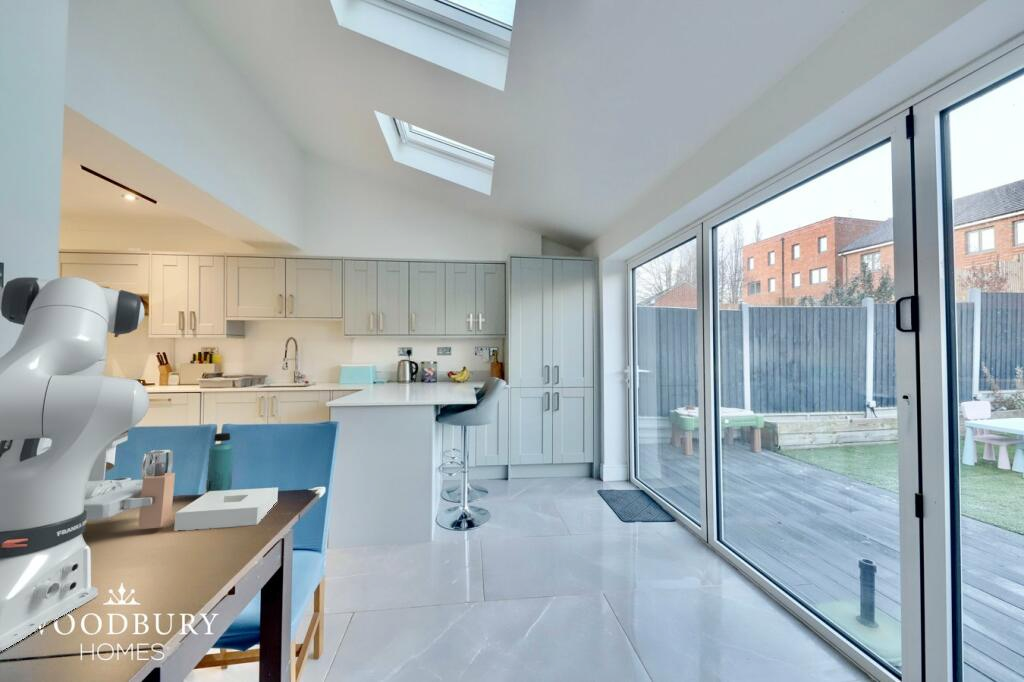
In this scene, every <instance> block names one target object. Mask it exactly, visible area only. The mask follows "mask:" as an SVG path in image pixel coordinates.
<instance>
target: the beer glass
mask: <svg viewBox="0 0 1024 682" xmlns="http://www.w3.org/2000/svg"><path fill="white" fill-rule="evenodd" d="M162 462H166V468H165V473H173V472H172V471H173V465H174V464H173V463H174V450H173V449H157V450H150V451H146V452H143V457H142V463H141V479H143V478H145V477H147V476H150V475H152V474H154V473H155V464H156V463H162Z"/></svg>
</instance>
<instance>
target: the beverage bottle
mask: <svg viewBox="0 0 1024 682" xmlns="http://www.w3.org/2000/svg"><path fill="white" fill-rule="evenodd" d="M230 440H231V433H229V432H220V433H216V434H214V438H213V441H214V442H222V443H215V444H213V445H212V446H210V448H208V449H209V450H208V451H209V452H208V461H207V462H208V463H207V473H206V474H207V475H206V476H207V477H206V484H205V487H206V488H205V494H206V493H208V492H209V491H224V490H232V482H233V470H234V469H233V459H234V458H233V457H234V445H232V444H231V443H229V442H227V443H226V441H230ZM224 441H225V443H224Z"/></svg>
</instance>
